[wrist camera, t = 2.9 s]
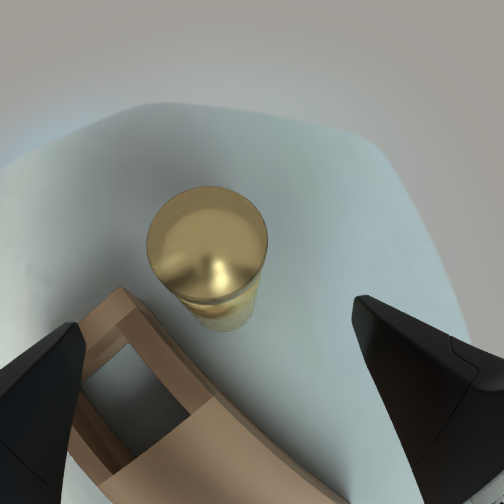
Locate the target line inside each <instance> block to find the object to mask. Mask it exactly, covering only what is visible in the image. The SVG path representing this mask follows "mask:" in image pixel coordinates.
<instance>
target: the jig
mask: <svg viewBox="0 0 504 504" xmlns="http://www.w3.org/2000/svg"><path fill="white" fill-rule="evenodd" d="M78 325H79V327H80V330H81V332H82V334H83V337H84V339H85V341H86V353H85V360H84V366H83V373H82V380H81V385H82V384H83V383H84V382H85V381H86V380H87V379H88V378H90V377H91V376H92V375H93V374H94V373H95V372H96V371H97V370H98V369H100V368H101V367H102V366H103V365H104V364H105V363H106V362H107V361H108V360H110V359H111V358H112V357H113V356H114V355H115V354H116V353H117V352H119V351H120V350H121V349H122V348H123V347H124V346H125V345H126V344H128V343H130V344H131V346H132V347H133V348H134V349H135V351H136V352H137V353H138V354H139V356H140V357H141V358H142V359H143V361H144V362H145V363H146V364H147V366H148V367H149V368H150V369H151V370H152V372H153V373H154V374H155V375H156V376H157V378H158V379H159V380H160V381H161V382H162V383H163V385H164V386H165V387H166V388H167V389H168V390H169V391H170V392H171V394H172V395H173V396H174V397H175V398H176V399H177V400H178V401H179V402H180V404H181V405H182V406H183V407H184V408H185V409H186V410H187V411H188V412H189V413H190V414H191V415H189V416H188V417H187V418H186V419H184V420H183V421H182V422H181V423H180V424H178V425H177V426H176V427H175V428H173V429H172V430H171V431H170V432H168V433H167V434H166V435H165V436H163V437H162V438H161V439H160V440H158V441H157V442H156V443H154V444H153V445H152V446H151V447H149V448H148V449H147V450H145V451H144V452H143V453H141V454H140V455H139V456H137V457H135V456H134V455H133V454H132V453H131V452H130V451H129V450H128V448H127V447H126V446H125V445H124V444H123V443H122V442H121V440H120V439H119V438H118V437H117V436H116V435H115V433H114V432H113V431H112V430H111V429H110V427H109V426H108V425H107V424H106V422H105V421H104V420H103V419H102V417H101V416H100V415H99V413H98V412H97V411H96V410H95V408H94V407H93V406H92V404H91V403H90V402H89V400H88V399H87V397H86V396H85V395H84V393H83V392H82V390H81V389H80V391H79V395H78V400H77V404H76V408H75V413H74V418H73V423H72V428H71V433H70V439H69V444H68V450H67V451H68V452H69V454H70V455H71V456H72V457H73V459H74V460H75V461H76V462H77V464H78V465H79V466H80V467H81V469H82V470H83V471H84V472H85V473H86V474H87V476H88V477H89V478H90V479H91V480H92V481H93V482H94V484H95V485H96V486H97V487H98V488H99V489H100V490H101V491H102V492H103V493H104V494H105V496H106V497H107V498H108V499H109V500H110V501H111V502H112V503H113V504H349V503H348V502H346V501H345V500H344V499H342V498H341V497H340V496H338V495H337V494H336V493H334V492H333V491H332V490H330V489H329V488H328V487H326V486H325V485H324V484H323V483H321V482H320V481H319V480H318V479H316V478H315V477H314V476H313V475H311V474H310V473H309V472H308V471H306V470H305V469H304V468H303V467H302V466H300V465H299V464H298V463H297V462H296V461H294V460H293V459H292V458H291V457H290V456H289V455H287V454H286V453H285V452H284V451H283V450H282V449H281V448H279V447H278V446H277V445H276V444H275V443H274V442H273V441H272V440H271V439H269V438H268V437H267V436H266V435H265V434H264V433H263V432H262V431H261V430H260V429H259V428H258V427H256V426H255V425H254V424H253V423H252V422H251V421H250V420H249V419H248V418H247V417H246V416H245V415H244V414H243V413H242V412H241V411H240V410H239V409H238V408H237V407H236V406H235V405H234V404H233V403H232V402H231V401H230V400H229V399H228V398H227V397H226V396H225V395H224V394H223V393H222V392H221V391H220V390H219V389H218V388H217V387H216V386H215V385H214V384H213V383H212V382H211V381H210V380H209V378H208V377H207V376H206V375H205V374H204V373H203V372H202V371H201V370H200V369H199V368H198V367H197V366H196V364H195V363H194V362H193V361H192V360H191V359H190V358H189V357H188V356H187V354H186V353H185V352H184V351H183V350H182V349H181V348H180V346H179V345H178V344H177V343H176V342H175V341H174V339H173V338H172V337H171V336H170V335H169V334H168V332H167V331H166V330H165V329H164V328H163V326H162V325H161V324H160V323H159V322H158V320H157V319H156V318H155V317H154V316H153V314H152V313H151V312H150V311H149V309H148V308H147V307H146V306H145V304H144V303H143V302H142V301H141V300H140V299H138V298H137V297H135V296H134V295H133V294H131V293H130V292H128V291H127V290H126V289H124V288H123V287H122V286H119V287H118V288H117V289H116V290H115V291H114V292H112V293H111V294H110V295H109V296H108V297H107V298H106V299H105V300H104V301H103V302H101V303H100V304H99V305H98V306H97V307H96V308H95V309H94V310H93V311H92V312H91V313H89V314H88V315H87V316H86V317H85V318H84V319H83V320H82V321H81V322H80V323H79V324H78Z"/></svg>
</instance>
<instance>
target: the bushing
mask: <svg viewBox="0 0 504 504" xmlns="http://www.w3.org/2000/svg"><path fill="white" fill-rule="evenodd" d="M267 247H268V234H267V229H266V225H265V223H264V220H263V218H262V216H261V214H260V212H259V211H258V210H257V208H256V207H255V206H254V205H253V204H252V203H251V202H250V201H249V200H248V199H246V198H245V197H243V196H242V195H240V194H239V193H236V192H234V191H232V190H229V189H226V188H221V187H214V186H205V187H197V188H193V189H189V190H187V191H184V192H182V193H180V194H178V195H176V196H175V197H173V198H172V199H170V200H169V201H168V202H167V203H166V204H165V205H164V206H163V207H162V208H161V209H160V210H159V211H158V213H157V214H156V216H155V217H154V219H153V221H152V223H151V226H150V228H149V232H148V236H147V255H148V260H149V263H150V266H151V268H152V270H153V272H154V274H155V275H156V276H157V278H158V279H159V280H160V281H161V282H162V284H163V285H164V286H165V287H166V288H167V289H168V290H169V291H170V292H172V293H173V294H174V295H175V296H176V297H177V298H178V299H179V300H180V301H181V302H182V304H183V305H184V306H185V307H186V308H187V309H188V310H189V311H190V312H191V313H192V314H193V315H194V316H195V317H196V319H197V320H198V321H199V322H200V323H201V324H202V325H204V326H205V327H207V328H209V329H211V330H214V331H218V332H227V331H232V330H235V329H237V328H239V327H241V326H242V325H243V324H245V323H246V321H247V320H248V319H249V318H250V316H251V314H252V312H253V309H254V304H255V300H256V295H257V290H258V285H259V280H260V275H261V271H262V268H263V265H264V262H265V257H266V253H267Z"/></svg>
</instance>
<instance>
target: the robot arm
mask: <svg viewBox="0 0 504 504" xmlns="http://www.w3.org/2000/svg"><path fill="white" fill-rule="evenodd" d="M352 325H353V328H354V331H355V334H356V337H357V340H358V343H359V346H360V349H361V352H362V355H363V358H364V360H365V363H366V365H367V368H368V370H369V372H370V374H371V376H372V378H373V381H374V383H375V385H376V387H377V389H378V392H379V394H380V396H381V398H382V400H383V403H384V405H385V407H386V410H387V412H388V414H389V416H390V419H391V421H392V423H393V426H394V428H395V430H396V433H397V435H398V437H399V440H400V442H401V445H402V447H403V449H404V452H405V454H406V457H407V459H408V462H409V464H410V467H411V469H412V472H413V475H414V477H415V480H416V482H417V485H418V487H419V490H420V493H421V495H422V498H423V501H424V503H425V504H504V359H503V358H500V357H498V356H495V355H493V354H490V353H488V352H485V351H483V350H481V349H478V348H476V347H474V346H471V345H469V344H467V343H465V342H463V341H461V340H459V339H457V338H455V337H453V336H449V334H447V333H444V332H442V331H440V330H438V329H436V328H434V327H432V326H430V325H428V324H426V323H424V322H422V321H420V320H418V319H416V318H414V317H412V316H410V315H408V314H406V313H404V312H402V311H400V310H398V309H396V308H394V307H392V306H389V305H387V304H385V303H383V302H381V301H379V300H377V299H375V298H373V297H371V296H369V295H361V296H356V297H355V299H354V303H353V311H352ZM85 353H86V341H85V339H84V337H83V334H82V332H81V330H80V327H79V325H78V324H77V323H76V322H66V323H64V324H63V325H61V326H60V327H58V328H57V329H55V330H54V331H53V332H51V333H50V334H48V335H47V336H46V337H44V338H43V339H41V340H40V341H39V342H37V343H36V344H34V345H33V346H32V347H30V348H29V349H28V350H26V351H25V352H24V353H22V354H21V355H19V356H18V357H17V358H15V359H14V360H13V361H11V362H10V363H9V364H7V365H6V366H5V367H3V368H2V369H1V370H0V504H61V494H62V485H63V477H64V470H65V463H66V456H67V450H68V444H69V439H70V433H71V428H72V423H73V418H74V413H75V408H76V404H77V400H78V395H79V391H80V386H81V380H82V373H83V366H84V360H85Z"/></svg>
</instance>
